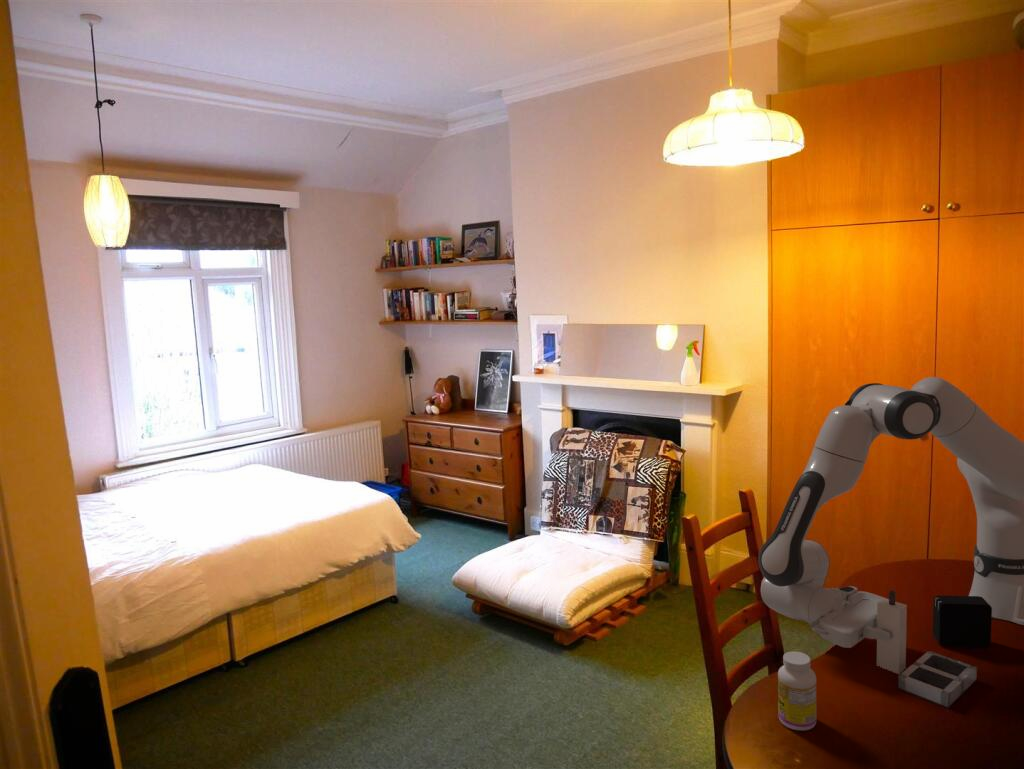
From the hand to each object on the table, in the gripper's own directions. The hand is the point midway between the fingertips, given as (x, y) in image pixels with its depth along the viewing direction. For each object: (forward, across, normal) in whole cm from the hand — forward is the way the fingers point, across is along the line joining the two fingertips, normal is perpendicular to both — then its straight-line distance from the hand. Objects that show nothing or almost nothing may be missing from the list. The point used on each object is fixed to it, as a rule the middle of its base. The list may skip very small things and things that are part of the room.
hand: (896, 632), depth 150 cm
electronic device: (+5, +20, +8) cm, 22 cm away
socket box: (+8, 0, +8) cm, 11 cm away
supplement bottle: (-4, -30, +8) cm, 31 cm away
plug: (-1, 0, +8) cm, 8 cm away
